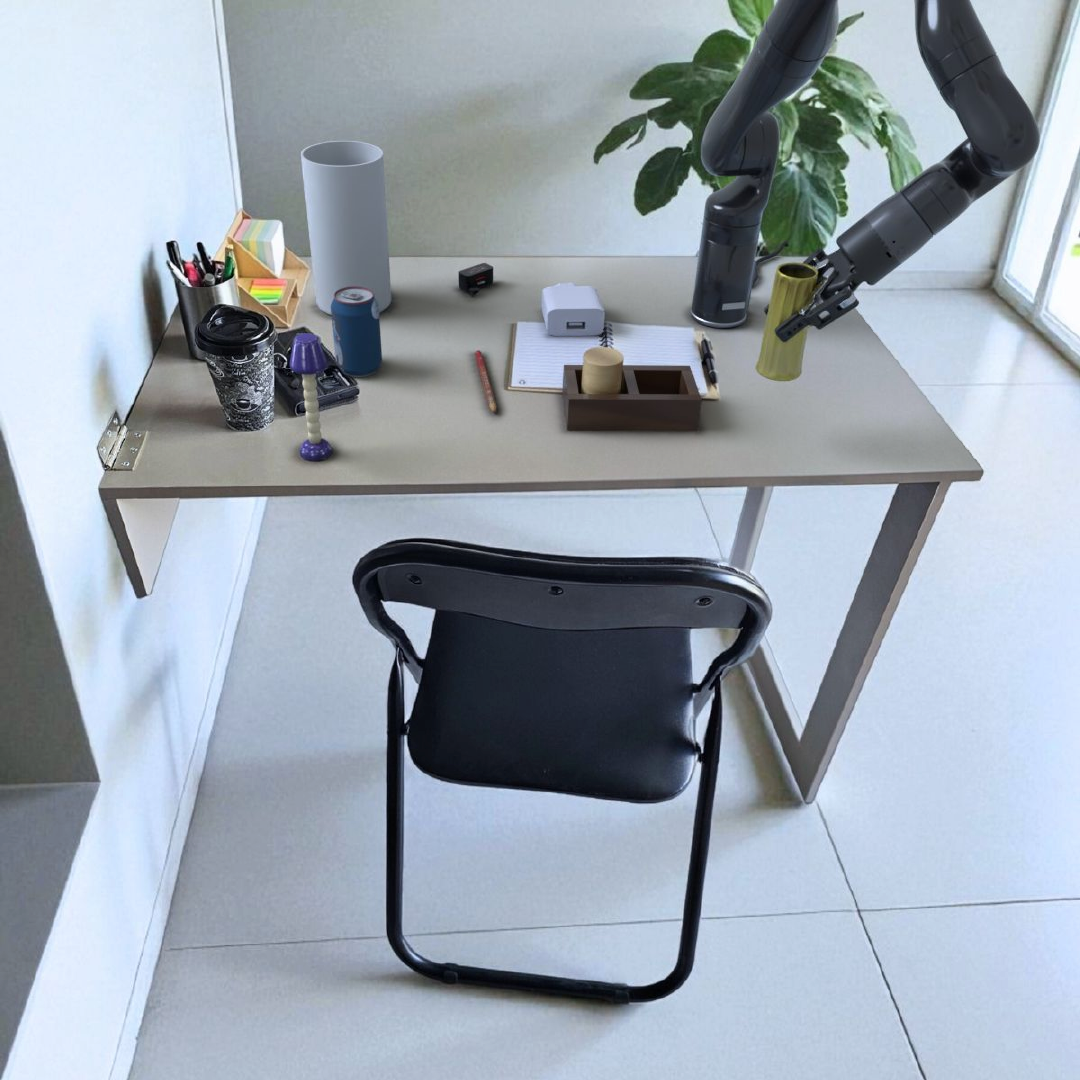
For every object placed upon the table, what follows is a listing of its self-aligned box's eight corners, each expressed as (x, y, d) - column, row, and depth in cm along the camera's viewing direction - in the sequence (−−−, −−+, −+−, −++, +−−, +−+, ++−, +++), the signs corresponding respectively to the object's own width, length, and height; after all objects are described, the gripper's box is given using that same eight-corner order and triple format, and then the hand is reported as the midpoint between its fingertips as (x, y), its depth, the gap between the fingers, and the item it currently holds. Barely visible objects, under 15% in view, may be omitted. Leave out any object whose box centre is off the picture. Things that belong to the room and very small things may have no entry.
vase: (804, 364, 142) (825, 265, 133) (797, 385, 137) (818, 283, 128) (759, 356, 143) (777, 257, 134) (751, 377, 138) (769, 275, 130)
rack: (562, 394, 154) (563, 364, 151) (685, 395, 155) (690, 365, 152) (566, 430, 146) (568, 399, 143) (697, 430, 147) (701, 399, 144)
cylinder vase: (335, 284, 182) (322, 137, 167) (402, 294, 180) (395, 146, 164) (303, 313, 172) (286, 160, 157) (374, 325, 170) (363, 170, 155)
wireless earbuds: (453, 290, 182) (453, 272, 180) (484, 279, 186) (484, 262, 184) (471, 299, 179) (471, 281, 177) (501, 288, 183) (502, 270, 181)
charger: (590, 296, 182) (603, 335, 170) (537, 297, 181) (547, 336, 169) (591, 270, 179) (605, 308, 167) (538, 271, 178) (548, 309, 166)
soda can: (391, 364, 160) (387, 290, 152) (366, 383, 155) (361, 308, 147) (352, 353, 162) (346, 280, 155) (327, 372, 157) (320, 298, 150)
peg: (596, 398, 154) (600, 343, 148) (626, 412, 151) (631, 356, 145) (571, 412, 150) (575, 355, 145) (601, 426, 147) (606, 369, 142)
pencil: (474, 355, 163) (474, 349, 162) (481, 355, 163) (481, 349, 163) (491, 417, 148) (491, 412, 148) (498, 417, 148) (499, 411, 148)
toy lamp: (302, 442, 141) (288, 329, 131) (336, 441, 142) (326, 329, 132) (298, 461, 138) (284, 347, 127) (334, 461, 138) (322, 346, 128)
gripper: (851, 196, 133) (744, 283, 140) (886, 240, 122) (768, 333, 128) (882, 237, 137) (776, 320, 143) (919, 283, 125) (803, 371, 132)
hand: (773, 326), depth 136 cm, fingers closed on vase, 5 cm apart
